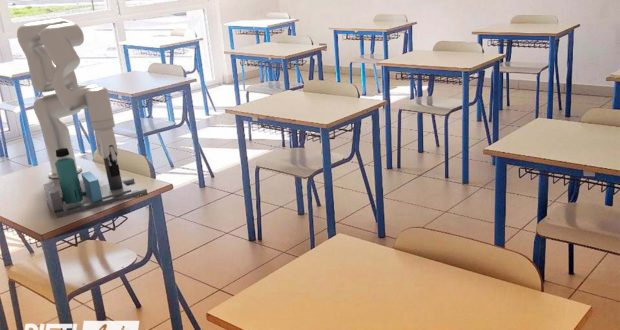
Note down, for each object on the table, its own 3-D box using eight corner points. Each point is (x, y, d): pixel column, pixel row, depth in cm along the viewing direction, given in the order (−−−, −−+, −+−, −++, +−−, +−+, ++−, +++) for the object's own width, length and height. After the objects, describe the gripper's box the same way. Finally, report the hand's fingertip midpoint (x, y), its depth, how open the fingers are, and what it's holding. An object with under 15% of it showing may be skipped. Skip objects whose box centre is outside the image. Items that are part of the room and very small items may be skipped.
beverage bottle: (78, 208, 213) (65, 151, 206) (60, 208, 214) (47, 152, 208) (88, 201, 219) (75, 145, 212) (71, 201, 220) (58, 146, 214)
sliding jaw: (85, 194, 224) (77, 158, 219) (122, 185, 230) (115, 149, 225) (94, 204, 214) (85, 166, 209) (131, 193, 220) (124, 156, 216)
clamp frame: (47, 204, 220) (42, 182, 217) (133, 181, 234) (129, 161, 231) (56, 218, 206) (51, 195, 203) (147, 193, 220) (143, 171, 218)
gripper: (85, 122, 220) (96, 171, 226) (98, 130, 206) (109, 182, 212) (107, 117, 224) (117, 166, 230) (120, 125, 210) (131, 177, 216)
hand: (113, 173), depth 221 cm, fingers closed on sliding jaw, 4 cm apart
